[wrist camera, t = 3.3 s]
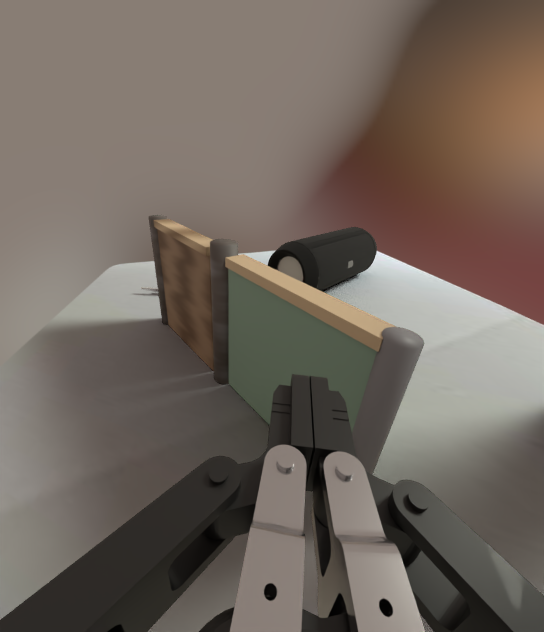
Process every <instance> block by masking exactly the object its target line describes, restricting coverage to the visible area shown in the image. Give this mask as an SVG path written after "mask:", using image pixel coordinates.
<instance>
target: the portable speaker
mask: <svg viewBox="0 0 544 632" xmlns="http://www.w3.org/2000/svg"><path fill="white" fill-rule="evenodd" d="M376 251H377V246H376V242H375V240H374V238H373V237H372V235H371V234H369V233H368V232H367V231H365V230H363V229H361V228H358V227H351V228H346V229H342V230H338V231H334V232H329V233H325V234H321V235H316V236H312V237H308V238H304V239H300V240H296V241H291V242H288V243H285V244H284V245H282V246H281V247H280V248H278V249H277V250H276V251H275V252H274V253H273V254H272V256H271V257H270V259H269V262H268V266H269V267H271V268H273V269H275V270H278V271H280V272H282V273H284V274H286V275H288V276H290V277H292V278H294V279H297V280H299V281H301V282H303V283H305V284H307V285H309V286H311V287H313V288H316V289H318V290H320V291H322V290H324V289H326V288H328V287H330V286H332V285H335V284H337V283H339V282H341V281H343V280H345V279H347V278H350V277H352V276H354V275H356V274H358V273H361V272H363V271H365V270H366V269H368V268H369V267H370V266H371V264H372V263H373V261H374V258H375V255H376Z"/></svg>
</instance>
